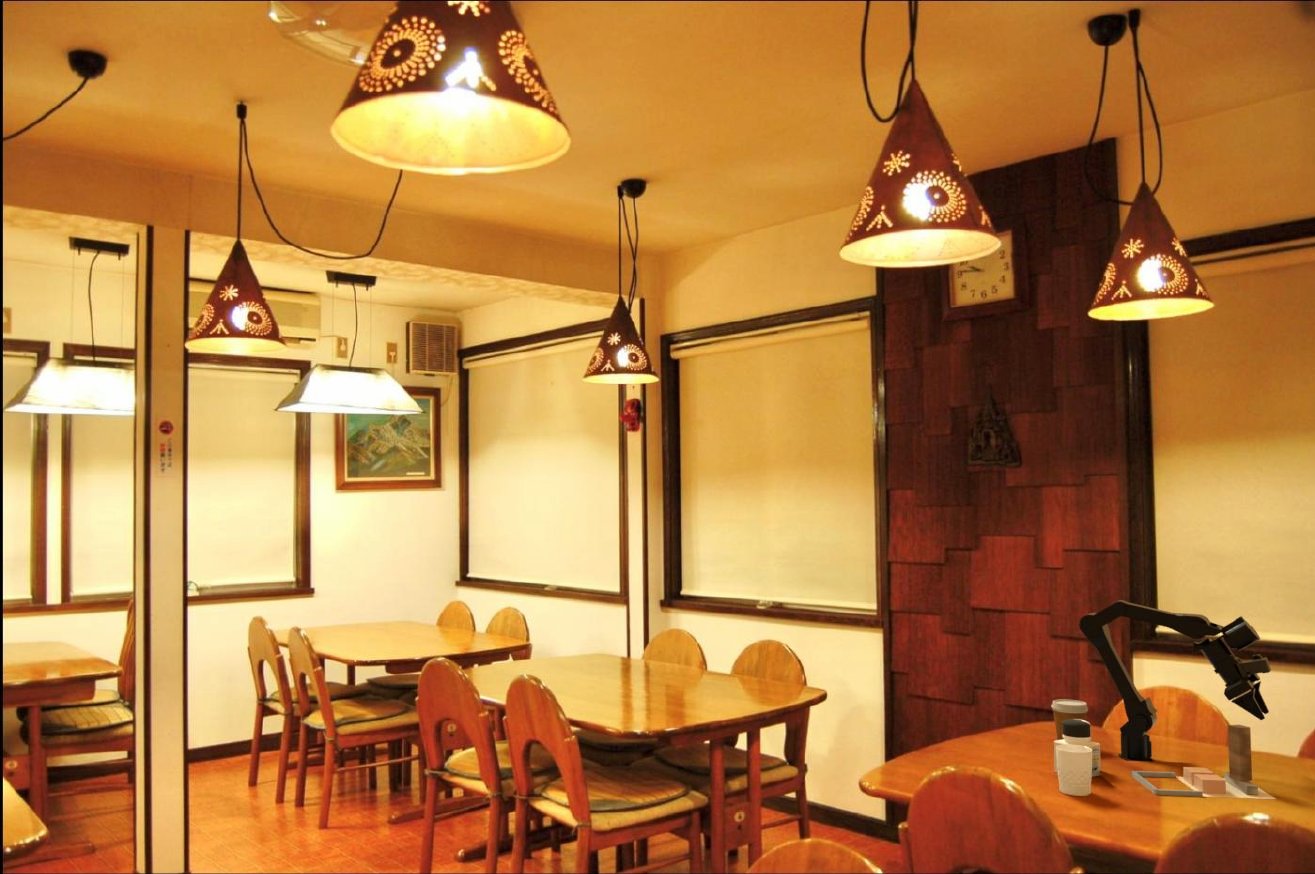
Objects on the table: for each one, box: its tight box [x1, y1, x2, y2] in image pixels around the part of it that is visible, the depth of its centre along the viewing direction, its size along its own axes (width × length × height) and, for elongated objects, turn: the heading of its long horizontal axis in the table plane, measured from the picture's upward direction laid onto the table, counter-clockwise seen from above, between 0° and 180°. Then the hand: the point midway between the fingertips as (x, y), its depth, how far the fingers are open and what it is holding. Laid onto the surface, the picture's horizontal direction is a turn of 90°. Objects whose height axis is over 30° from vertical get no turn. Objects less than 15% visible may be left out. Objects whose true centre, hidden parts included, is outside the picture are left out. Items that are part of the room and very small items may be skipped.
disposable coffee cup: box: [1050, 699, 1089, 740], centre depth 285 cm, size 10×10×12 cm
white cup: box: [1056, 744, 1092, 797], centre depth 240 cm, size 8×8×10 cm
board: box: [1176, 776, 1277, 800], centre depth 240 cm, size 16×17×1 cm
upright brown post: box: [1223, 724, 1259, 795], centre depth 240 cm, size 4×12×14 cm, turn 173°
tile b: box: [1182, 766, 1215, 786], centre depth 244 cm, size 5×5×3 cm
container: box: [1053, 719, 1102, 777], centre depth 257 cm, size 8×8×13 cm
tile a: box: [1194, 774, 1226, 794], centre depth 237 cm, size 5×5×3 cm
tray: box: [1130, 770, 1204, 798], centre depth 241 cm, size 10×17×2 cm, turn 173°
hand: (1265, 716), depth 255 cm, fingers open, 9 cm apart
